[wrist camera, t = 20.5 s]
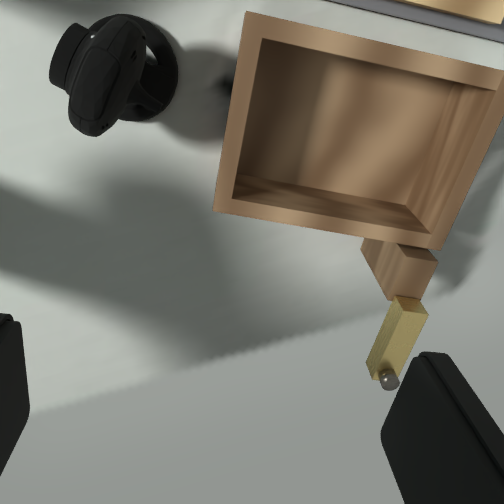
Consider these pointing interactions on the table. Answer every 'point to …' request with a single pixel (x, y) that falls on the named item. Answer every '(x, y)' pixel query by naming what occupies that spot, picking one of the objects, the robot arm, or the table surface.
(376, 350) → the yellow bar with ball
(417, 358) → the robot arm
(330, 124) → the open wooden box
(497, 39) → the mat
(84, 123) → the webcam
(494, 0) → the lid
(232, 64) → the table surface
